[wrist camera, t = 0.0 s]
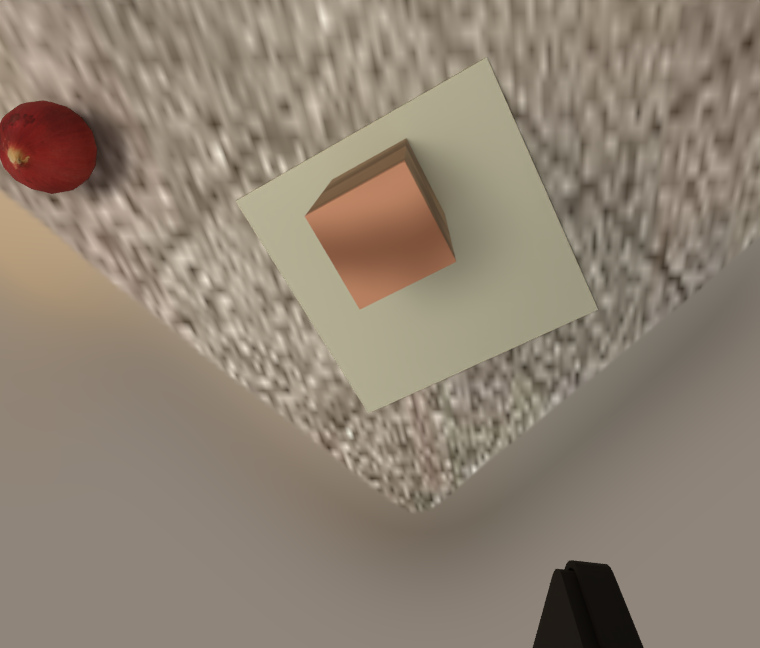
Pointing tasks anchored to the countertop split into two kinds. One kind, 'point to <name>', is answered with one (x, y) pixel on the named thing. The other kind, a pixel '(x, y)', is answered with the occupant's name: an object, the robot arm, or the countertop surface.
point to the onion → (47, 147)
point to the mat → (468, 236)
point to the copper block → (382, 225)
